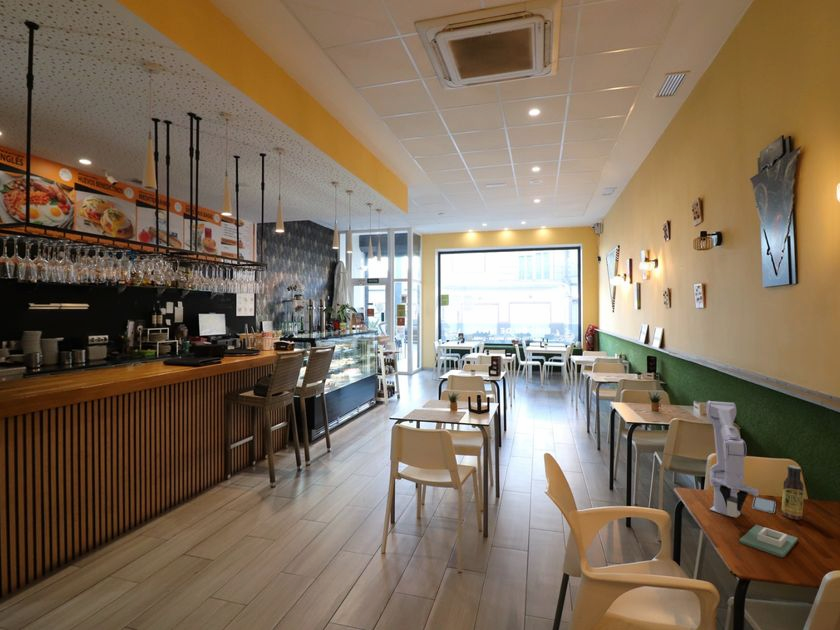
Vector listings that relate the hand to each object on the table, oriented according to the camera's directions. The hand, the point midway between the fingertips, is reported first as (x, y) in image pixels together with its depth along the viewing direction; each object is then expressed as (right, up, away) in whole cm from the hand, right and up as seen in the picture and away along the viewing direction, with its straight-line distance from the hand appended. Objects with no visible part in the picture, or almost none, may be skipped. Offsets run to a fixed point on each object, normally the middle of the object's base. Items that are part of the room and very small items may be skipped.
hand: (733, 508), depth 163 cm
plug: (0, -2, 0) cm, 2 cm away
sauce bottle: (+30, -8, +9) cm, 32 cm away
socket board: (+5, -7, -10) cm, 13 cm away
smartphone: (+27, -8, +19) cm, 34 cm away
